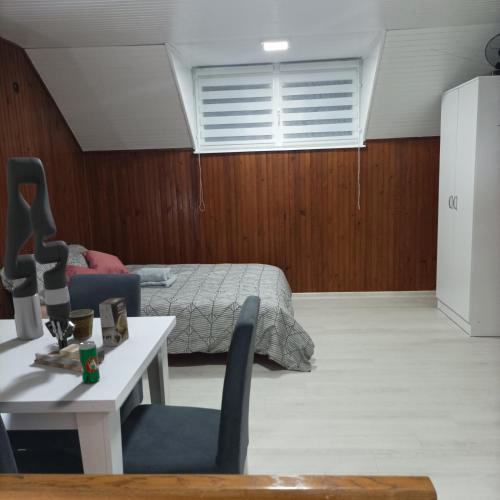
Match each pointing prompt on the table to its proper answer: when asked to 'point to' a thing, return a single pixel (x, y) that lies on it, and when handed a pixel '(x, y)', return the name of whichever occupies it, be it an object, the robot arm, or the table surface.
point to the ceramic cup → (82, 323)
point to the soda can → (89, 362)
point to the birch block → (71, 352)
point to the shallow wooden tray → (62, 359)
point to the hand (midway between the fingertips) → (63, 349)
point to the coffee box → (113, 321)
